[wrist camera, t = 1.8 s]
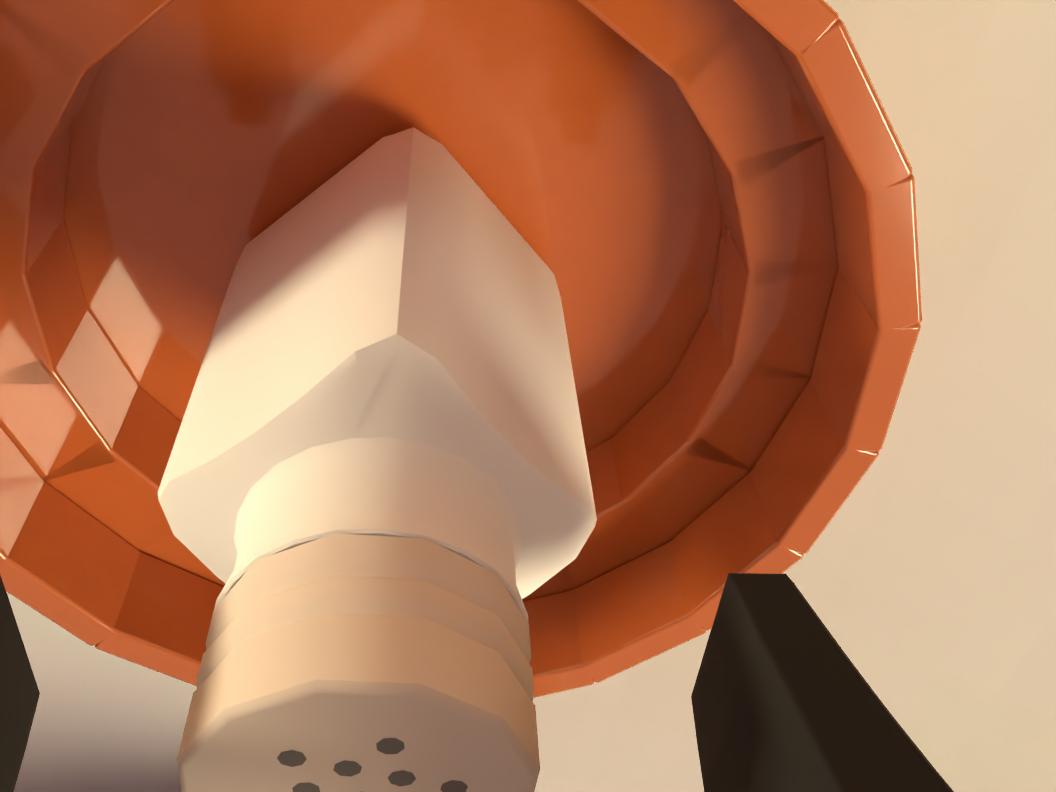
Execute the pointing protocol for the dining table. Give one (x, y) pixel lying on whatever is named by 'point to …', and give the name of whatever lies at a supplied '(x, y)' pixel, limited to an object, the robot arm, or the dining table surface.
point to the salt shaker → (378, 490)
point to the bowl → (532, 209)
